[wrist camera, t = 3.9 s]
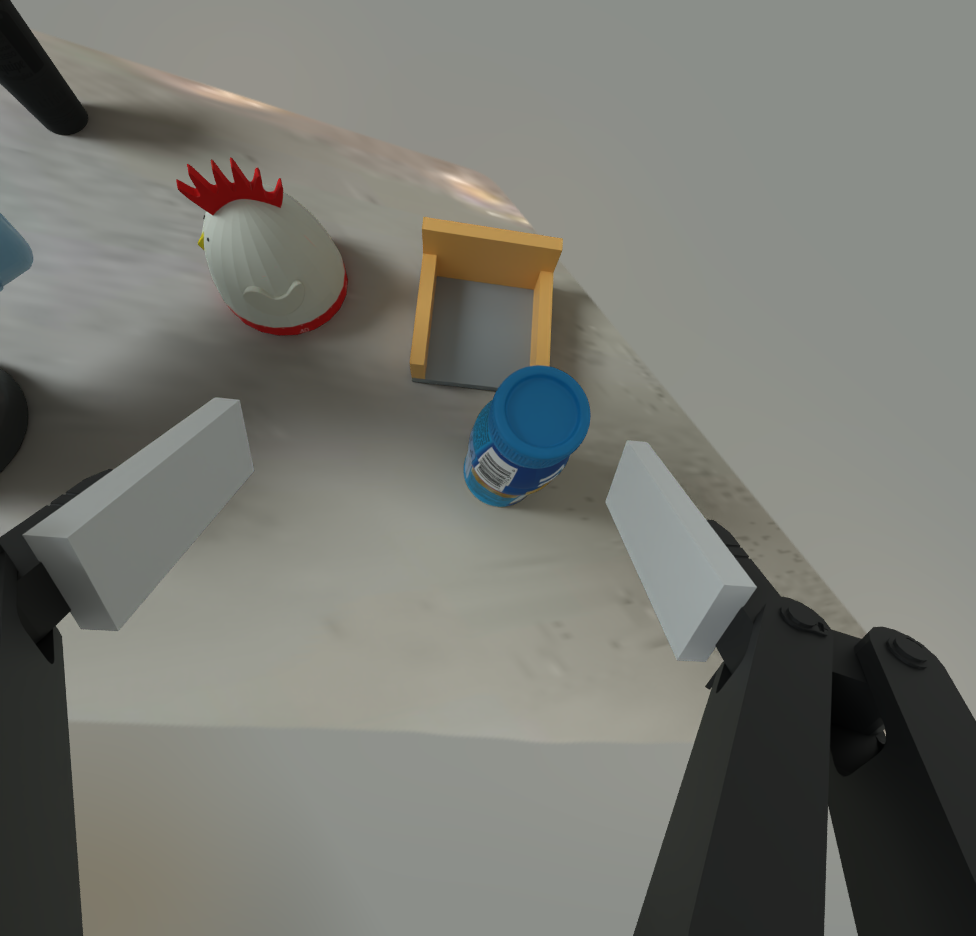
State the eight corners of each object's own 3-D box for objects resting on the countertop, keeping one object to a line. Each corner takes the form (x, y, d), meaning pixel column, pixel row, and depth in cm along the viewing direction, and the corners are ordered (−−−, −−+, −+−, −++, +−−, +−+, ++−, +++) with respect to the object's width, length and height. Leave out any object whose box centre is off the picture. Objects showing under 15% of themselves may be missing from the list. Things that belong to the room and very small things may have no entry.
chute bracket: (538, 395, 49) (558, 365, 41) (412, 381, 47) (407, 346, 39) (544, 286, 52) (562, 238, 44) (425, 269, 50) (423, 216, 43)
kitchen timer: (215, 240, 48) (119, 102, 34) (335, 224, 50) (293, 89, 36) (233, 345, 46) (138, 246, 31) (358, 324, 48) (323, 223, 33)
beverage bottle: (456, 440, 46) (470, 356, 27) (528, 431, 48) (590, 345, 28) (468, 514, 45) (491, 481, 25) (542, 502, 46) (618, 463, 27)
